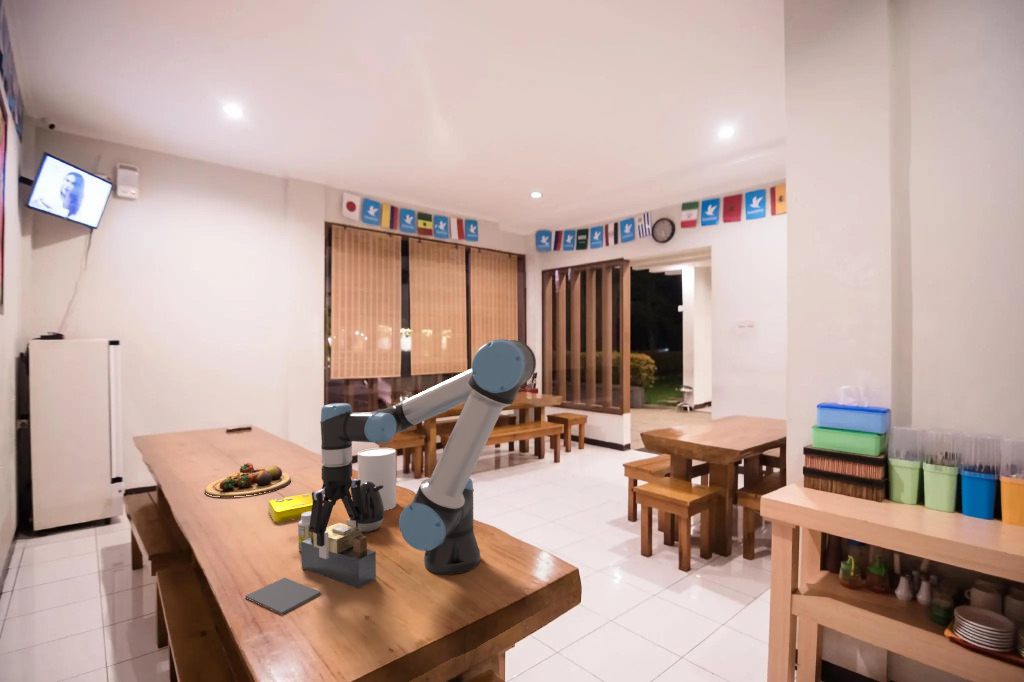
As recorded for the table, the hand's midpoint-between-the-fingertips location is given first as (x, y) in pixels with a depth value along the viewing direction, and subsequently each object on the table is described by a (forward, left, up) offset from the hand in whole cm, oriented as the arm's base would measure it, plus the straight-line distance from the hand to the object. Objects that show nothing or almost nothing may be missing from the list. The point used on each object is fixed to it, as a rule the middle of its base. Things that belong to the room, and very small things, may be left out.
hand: (338, 550), depth 123 cm
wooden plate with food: (+97, -33, -7) cm, 103 cm away
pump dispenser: (+16, -25, -6) cm, 30 cm away
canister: (+30, -42, -6) cm, 52 cm away
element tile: (+51, -23, -7) cm, 57 cm away
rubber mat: (+2, +14, -6) cm, 15 cm away
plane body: (0, 0, -6) cm, 6 cm away
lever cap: (0, 0, +2) cm, 2 cm away
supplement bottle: (+20, -6, -6) cm, 22 cm away
